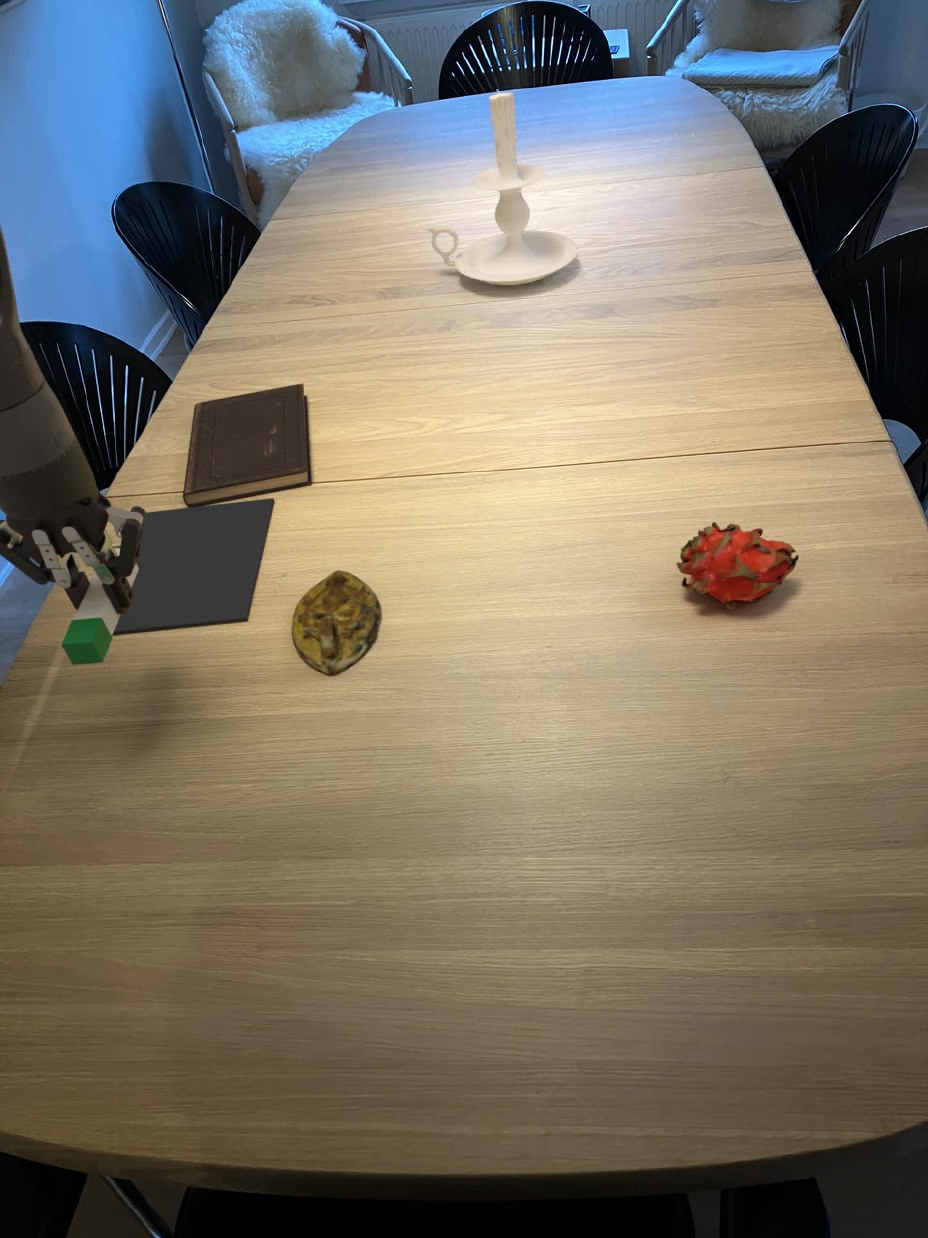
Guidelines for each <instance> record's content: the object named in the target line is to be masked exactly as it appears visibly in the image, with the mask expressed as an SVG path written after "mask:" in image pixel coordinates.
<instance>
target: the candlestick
mask: <svg viewBox="0 0 928 1238" xmlns="http://www.w3.org/2000/svg"><path fill="white" fill-rule="evenodd" d="M496 91H497V93H495V94H492V95H490V96H489V97H488V98H489V101H488V102H489V111H490V124H492V129H493V139H494V149H495V151H494V152H495V162H496V163H497V166H496V167H492V168H489V169H486V170H483V171H482V172H480V173H478V174H477V175H475V177H474V178H473V184H474V185H475V186H476V187H477V188H480V189H482V190H488V191H497V192H499V199H498V202H497V204H496V206H495V210H494V218H495V222H496V225H497V226H498V229H500V231H501V232H502V233H499V234H494V235H490V236H487V237H484V238H481V239H479V240H477V241H474V242H473V243H472V242H471V243H470V244H469V245H467V246H465V247H464V248H462V250H461V251H459V252H458V253H457V255H456V257H455V259H454V261H451V260H450V258H449V257H450V256H451V255H453V254H455V252H457V249H458V247H459V236H458V234H457V232H456V231H455V230H454V229H453V228H451V227H447V226H441V227H435V226H427V227H426V231H428V232H430V233H432V236H431V246H432V248H433V251H435V252H436V253H437V254H438V255H440V256H441V257H442V260H443V262H444V264H445V265H446V266H448V267H455V269H456V270H457V271H458V272H459V273H460V274H462V275H464V277H467V278H470V279H474V280H477V281H480V282H482V283H487V284H489V285H490V284H491V285H499V286H516V285H525V284H530V283H533V282H536V281H541V279H544V278H547V277H549V276H551V275H553V274H554V273H556V272H557V271H559V270H561V269H563V268H564V267H566V266H568V265H569V264H570V263H572V261H573V260H574V259H575V258H576V256H577V254H578V249H579V248H578V245H577V243H576V242H575V241H574V240H573V239H572V238H570V237H569V236H567V235H563V234H561V233H559V232H558V233H557V232H553V231H547V230H525V229H526V227H527V226H528V223H529V222H530V221H529V220H530V216H531V211H530V207H529V205H528V203H527V201H526V200H525V198H524V197H523V194H522V189H523V188H524V187H528V186H531V185H533V184H535V183H537V182H539V181H541V180H542V179H543V178H544V177H545V176H546V172H545V169H544V168H542V167H541V166H538V165H533V164H527V163H526V164H525V163H522V164H521V163H520V164H519V163H518V161H517V159H518V158H517V149H516V147H517V146H516V143H517V142H518V140H517V139H518V138H517V132H516V131H517V130H516V104H515V93H514V92H500V91H499V89H496ZM442 233H447V234H449V235H450V236H451V237H452V239H453V243H454V244H453V246H452V247H451V248H450V249H442V248H441V247H439V245H438V244H437V236H438V235H440V234H442Z"/></svg>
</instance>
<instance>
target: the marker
mask: <svg viewBox="0 0 928 1238" xmlns="http://www.w3.org/2000/svg"><path fill="white" fill-rule="evenodd" d="M120 546H121V545H112V547H113V548H114V550H115V551H116V553H117V554H118V556H119V553H120ZM141 566H142V563H141V561H140V559H139V557H138V559H137V562H136V564H135V566H134V569H133V571H132V574H131V575H130V576H129V577H126V578H127V580H128V582H129V585H130V586H131V587H132V585H133V582H134V580H135V578H136V575H137V573H138V570H139V569H140V568H141ZM102 584H103V582H102V581H101V580H100V579H99V577H98V576H97V574H96V573H95V572H94V573H93V577H92V579H91V580H90V586H89V588H88V590H87V592H86V594H85V597H84V599H83V600H82V603H81V605H80V607H79V609H78V611H77V610H76V611H77V612H76V614H75V616H74V618H73V619H72V620H71V621H70V624H69V626H68V628H67V630H66V632H65V634H64V637H63V639H62V641H61V644H60V645H61V647H62V649H63V651H64V653H65V654H66V656H67V658H68V660H69V661H70V662H71V665H72V666H76V665H90V664H100V663H101V664H102V663H104V661H105V659H106V656H107V653H108V651H109V648H110V645H111V643H112V640H113V636H114V635H113V632H114V630H115V627H116V625H117V622H118V620H119V617H120V615H121V614H117V613H116V611H115V609H114V607H113V605H112V603H111V601H110V599H109V598H108V597H107V595H106V593H105V591H104V589H103V587H102Z"/></svg>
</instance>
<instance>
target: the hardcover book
mask: <svg viewBox="0 0 928 1238" xmlns="http://www.w3.org/2000/svg"><path fill="white" fill-rule="evenodd" d="M192 416H193V417H192V423H191V429H190V438H189V446H188V453H187V462H186V468H185V476H184V484H183V493H182V500H183V502H184V504H185V506H187V507H188V508H190V507H199V506H208V505H213V504H218V503H222V502H227V501H232V500H238V499H243V498H249V497H254V496H259V495H264V494H268V493H274V492H275V493H276V492H279V491H285V490H290V489H295V488H300V487H306V486H311V485H312V469H311V467H312V466H311V465H312V464H311V450H310V448H311V447H310V446H311V445H310V430H309V427H310V426H309V411H308V396H307V394H306V395H305V385H304V382H302V383H297V384H291V385H287V386H281V387H275V388H271V389H265V390H264V389H263V390H259V391H255V392H253V391H252V392H248V393H243V394H238V395H232V396H227V397H222V398H216V399H212V400H206V401H201V402H197V403H195V405H194V408H193V415H192Z"/></svg>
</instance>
